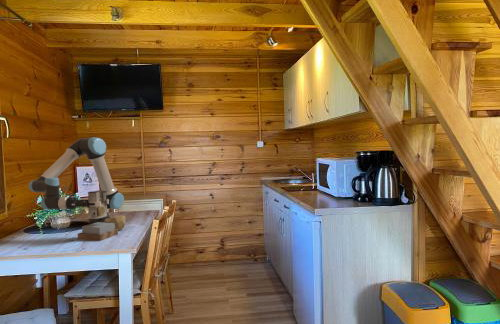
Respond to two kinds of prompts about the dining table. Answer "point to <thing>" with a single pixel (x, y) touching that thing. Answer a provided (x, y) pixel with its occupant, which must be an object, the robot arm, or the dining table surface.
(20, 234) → the dining table surface
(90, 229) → the slate top block
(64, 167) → the robot arm
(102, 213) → the coffee box
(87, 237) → the walnut base block
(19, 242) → the dining table surface
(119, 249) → the dining table surface
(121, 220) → the low-poly potato
